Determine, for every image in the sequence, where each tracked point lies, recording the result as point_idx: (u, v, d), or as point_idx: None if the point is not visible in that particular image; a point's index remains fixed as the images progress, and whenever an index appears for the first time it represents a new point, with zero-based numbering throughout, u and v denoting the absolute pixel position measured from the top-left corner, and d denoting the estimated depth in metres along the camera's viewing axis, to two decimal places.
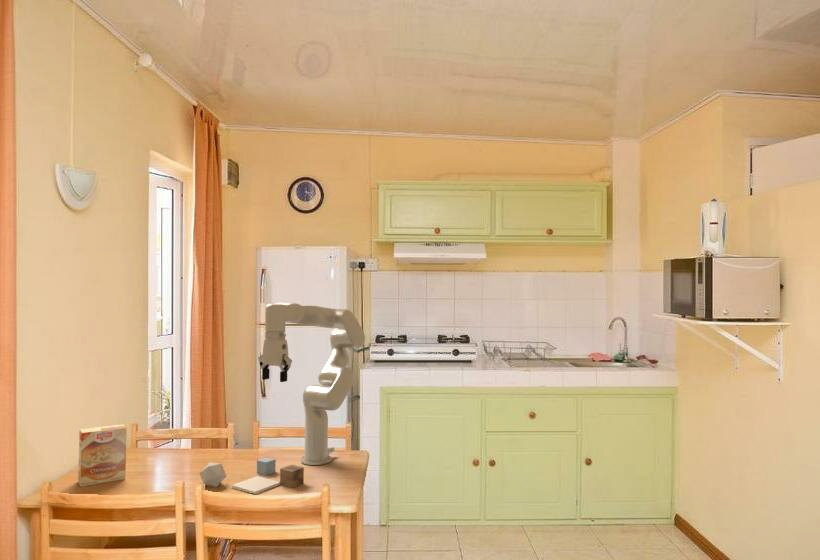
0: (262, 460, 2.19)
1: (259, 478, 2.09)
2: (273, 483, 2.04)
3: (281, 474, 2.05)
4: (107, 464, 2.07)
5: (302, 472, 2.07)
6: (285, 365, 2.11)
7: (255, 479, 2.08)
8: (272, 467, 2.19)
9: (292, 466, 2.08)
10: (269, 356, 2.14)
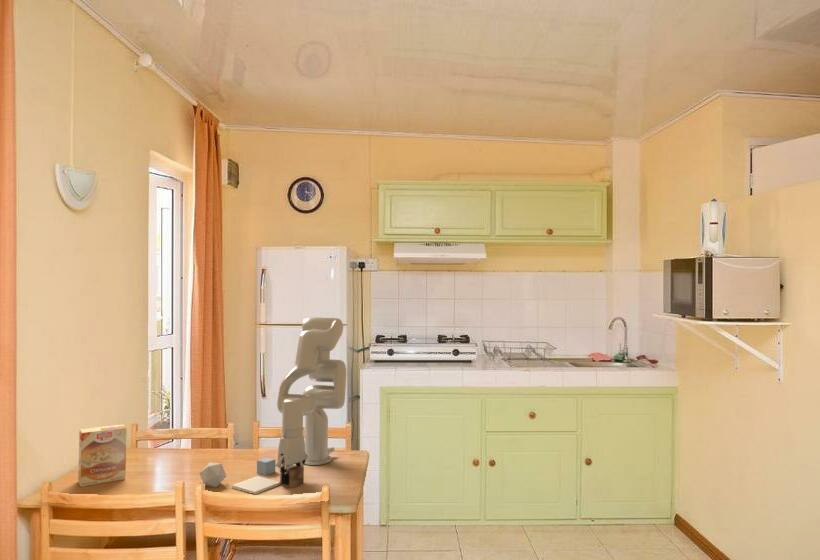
0: (262, 460, 2.19)
1: (259, 478, 2.09)
2: (273, 483, 2.04)
3: (281, 473, 2.05)
4: (107, 464, 2.07)
5: (302, 472, 2.07)
6: (303, 461, 2.10)
7: (255, 479, 2.08)
8: (272, 467, 2.19)
9: (292, 466, 2.08)
10: (296, 454, 2.05)
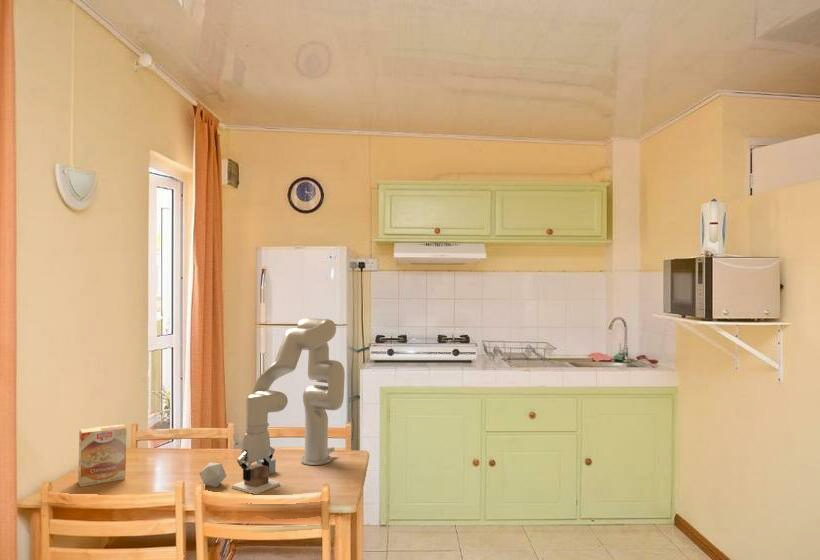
0: (262, 460, 2.19)
1: None
2: (273, 483, 2.04)
3: None
4: (107, 464, 2.07)
5: (267, 471, 2.04)
6: (270, 455, 2.09)
7: None
8: (272, 467, 2.19)
9: (257, 465, 2.06)
10: (260, 451, 2.02)
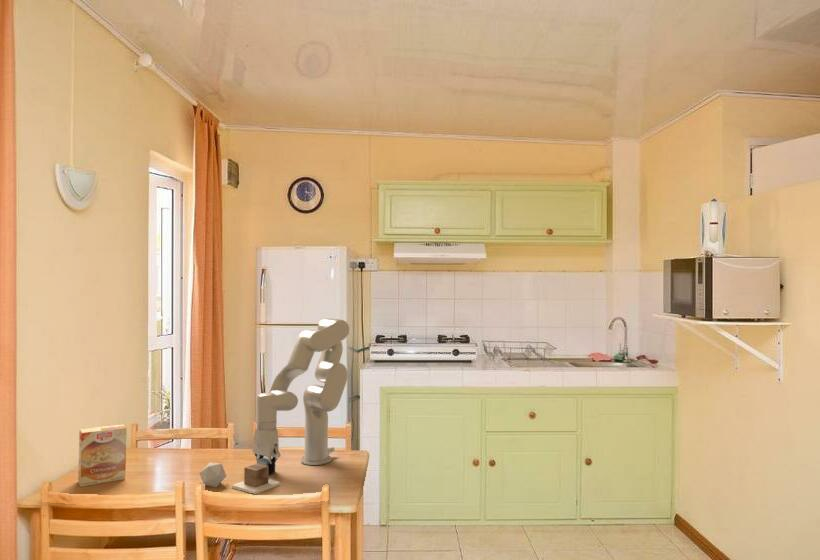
0: (262, 460, 2.19)
1: None
2: (273, 483, 2.04)
3: (245, 472, 2.03)
4: (107, 464, 2.07)
5: (267, 471, 2.04)
6: None
7: None
8: None
9: (257, 465, 2.06)
10: None
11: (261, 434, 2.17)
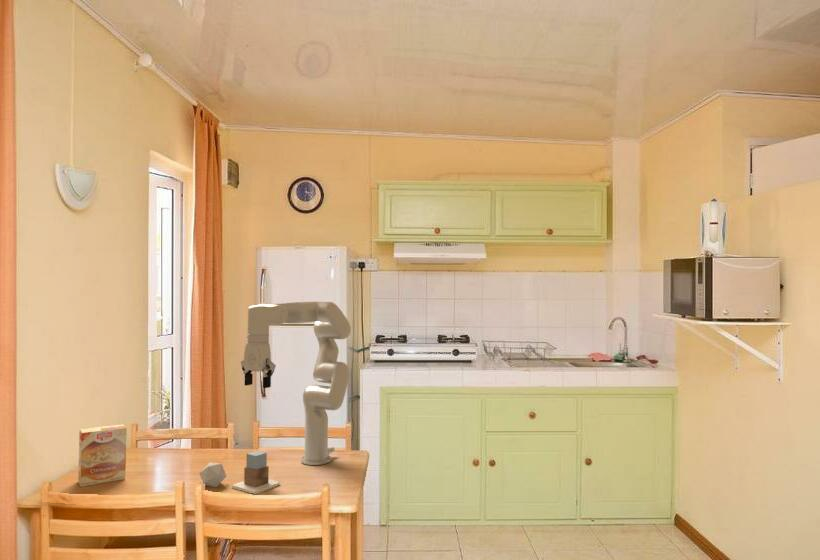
0: (252, 453, 2.03)
1: None
2: (273, 483, 2.04)
3: (245, 472, 2.03)
4: (107, 464, 2.07)
5: (267, 471, 2.04)
6: None
7: None
8: (263, 461, 2.04)
9: None
10: None
11: (252, 348, 2.02)
